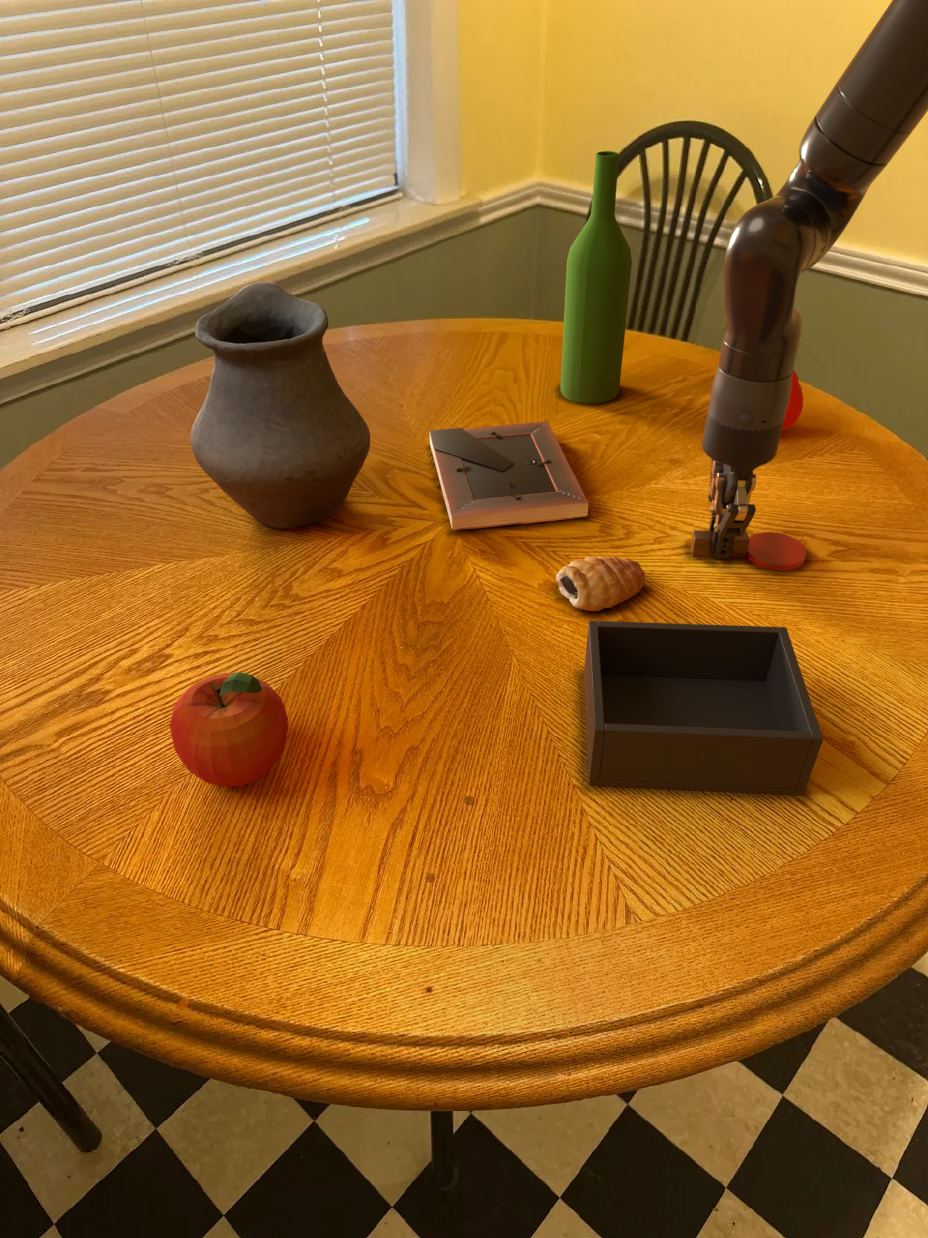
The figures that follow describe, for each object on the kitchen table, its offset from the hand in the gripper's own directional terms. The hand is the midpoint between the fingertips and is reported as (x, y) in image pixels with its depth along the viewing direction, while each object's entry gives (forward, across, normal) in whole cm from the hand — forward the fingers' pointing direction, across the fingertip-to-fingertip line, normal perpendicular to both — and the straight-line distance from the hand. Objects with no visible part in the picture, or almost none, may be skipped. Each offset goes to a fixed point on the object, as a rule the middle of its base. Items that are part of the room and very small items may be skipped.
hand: (717, 550), depth 98 cm
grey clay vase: (0, +8, +51) cm, 52 cm away
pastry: (0, -8, +14) cm, 16 cm away
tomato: (0, +31, -10) cm, 33 cm away
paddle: (0, 0, -3) cm, 3 cm away
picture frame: (0, +15, +25) cm, 29 cm away
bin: (0, -28, +7) cm, 29 cm away
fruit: (0, -34, +46) cm, 57 cm away
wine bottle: (0, +42, +13) cm, 44 cm away
